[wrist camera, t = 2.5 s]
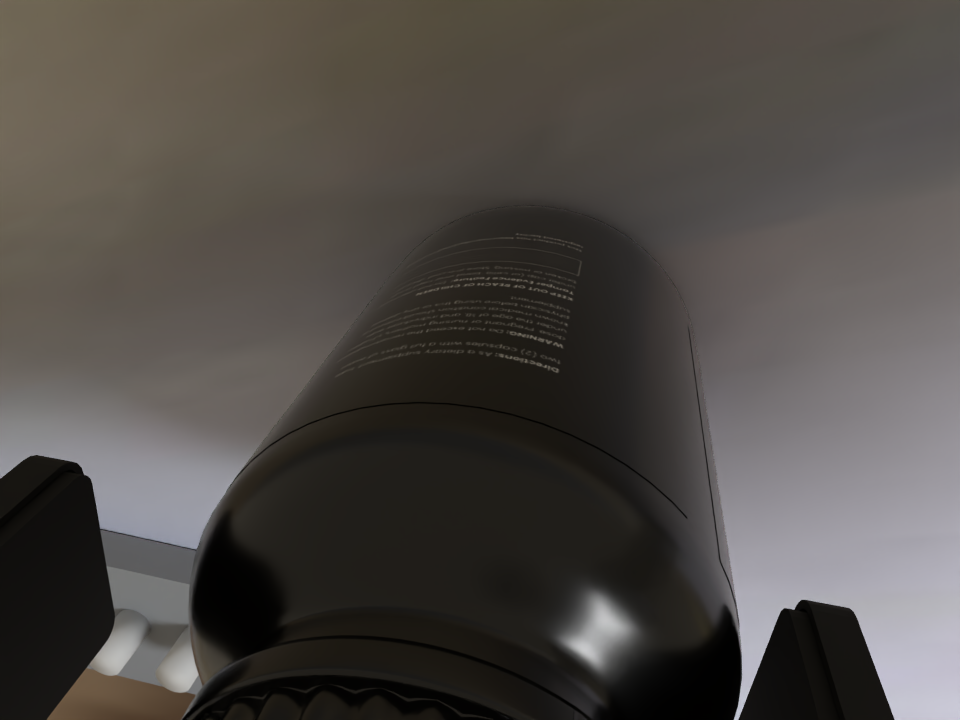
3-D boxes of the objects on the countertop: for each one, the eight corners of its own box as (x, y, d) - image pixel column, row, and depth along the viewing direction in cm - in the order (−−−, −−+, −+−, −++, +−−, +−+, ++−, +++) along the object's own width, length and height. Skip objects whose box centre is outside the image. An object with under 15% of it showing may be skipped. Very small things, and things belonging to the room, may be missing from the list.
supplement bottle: (342, 399, 18) (-79, 1000, 7) (455, 136, 15) (-22, 558, 4) (599, 526, 18) (538, 1279, 8) (767, 296, 15) (1056, 1071, 4)
